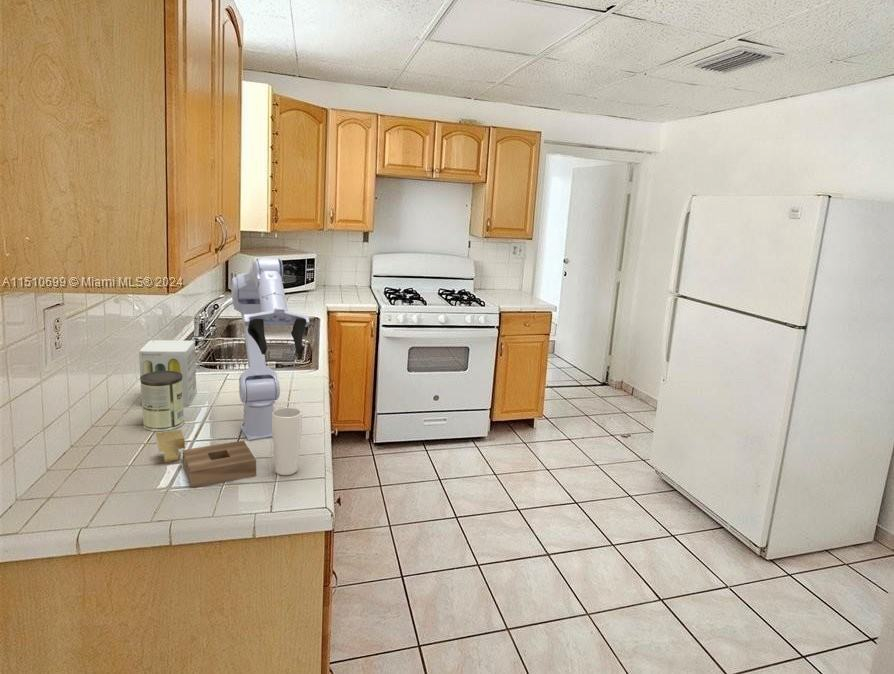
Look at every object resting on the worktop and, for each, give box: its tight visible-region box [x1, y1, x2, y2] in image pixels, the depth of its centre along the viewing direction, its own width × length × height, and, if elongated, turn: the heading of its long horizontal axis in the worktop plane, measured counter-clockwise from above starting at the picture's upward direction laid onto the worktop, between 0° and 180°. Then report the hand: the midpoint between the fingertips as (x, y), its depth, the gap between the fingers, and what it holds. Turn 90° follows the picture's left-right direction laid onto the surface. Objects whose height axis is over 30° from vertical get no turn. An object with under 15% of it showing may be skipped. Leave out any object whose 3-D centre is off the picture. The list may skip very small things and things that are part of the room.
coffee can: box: [139, 371, 185, 432], centre depth 155 cm, size 10×10×14 cm
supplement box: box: [138, 339, 197, 407], centre depth 173 cm, size 13×13×18 cm
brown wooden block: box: [181, 440, 257, 489], centre depth 133 cm, size 12×14×4 cm
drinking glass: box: [271, 406, 303, 476], centre depth 134 cm, size 7×7×15 cm
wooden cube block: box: [155, 429, 186, 463], centre depth 137 cm, size 6×6×6 cm
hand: (282, 351), depth 124 cm, fingers open, 7 cm apart
